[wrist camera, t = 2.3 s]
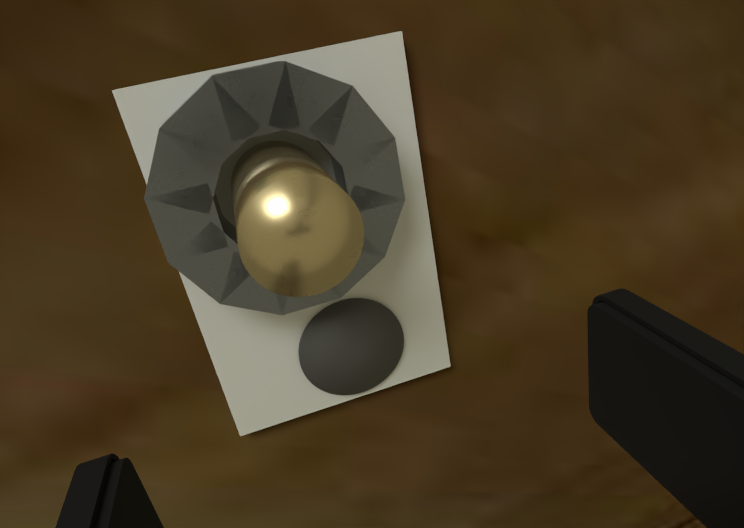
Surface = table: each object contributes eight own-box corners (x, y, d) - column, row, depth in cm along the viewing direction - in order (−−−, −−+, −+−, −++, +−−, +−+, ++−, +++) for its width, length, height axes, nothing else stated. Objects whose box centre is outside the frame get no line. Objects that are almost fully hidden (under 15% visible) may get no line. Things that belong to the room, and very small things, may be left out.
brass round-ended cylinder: (310, 131, 29) (351, 162, 20) (329, 216, 31) (374, 277, 22) (219, 152, 28) (220, 194, 19) (245, 238, 30) (257, 311, 21)
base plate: (396, 31, 29) (403, 30, 28) (444, 359, 38) (452, 368, 37) (115, 89, 26) (110, 90, 25) (239, 426, 35) (240, 439, 34)
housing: (363, 43, 28) (379, 41, 25) (401, 257, 33) (417, 275, 30) (117, 94, 25) (106, 98, 23) (199, 315, 31) (197, 340, 28)
